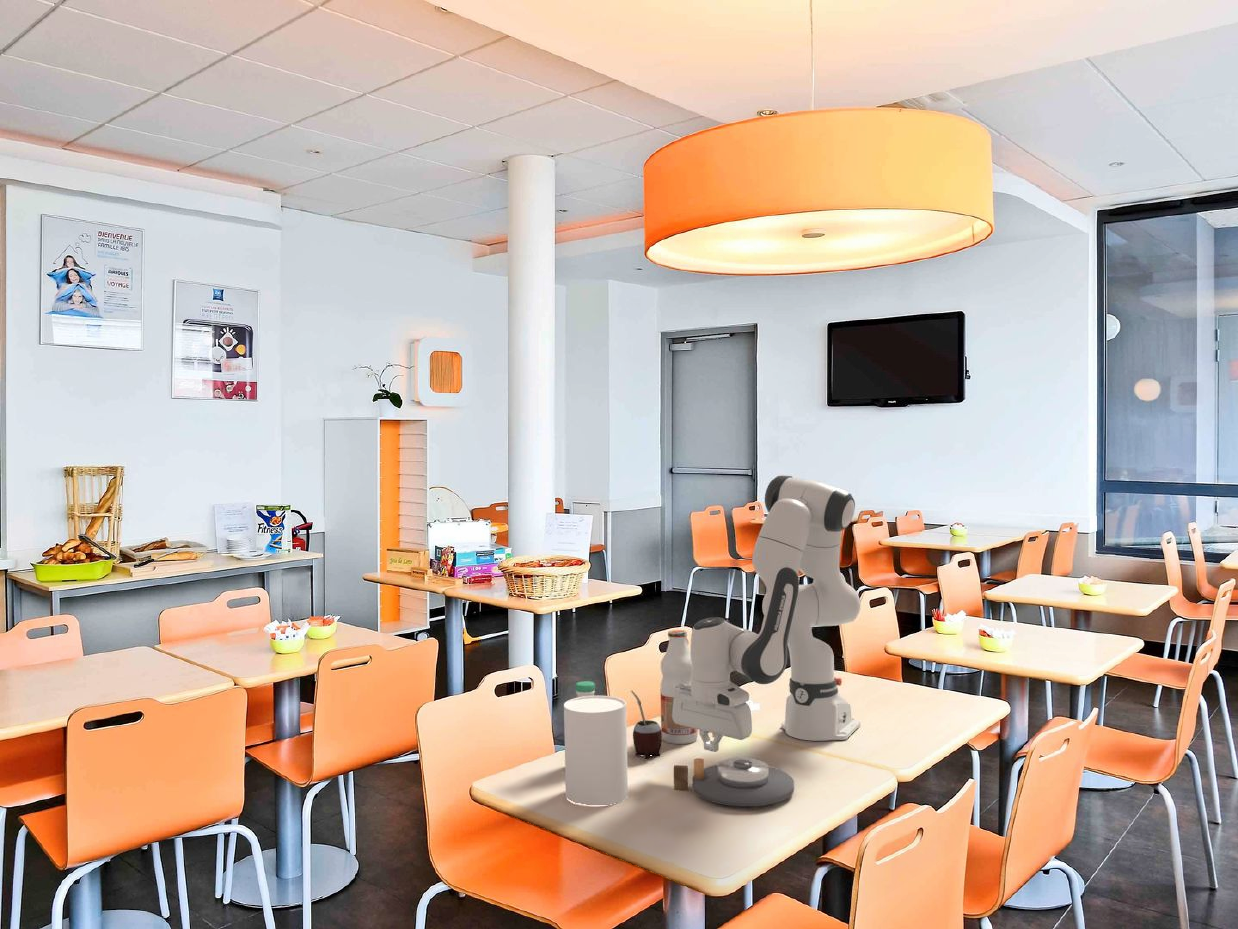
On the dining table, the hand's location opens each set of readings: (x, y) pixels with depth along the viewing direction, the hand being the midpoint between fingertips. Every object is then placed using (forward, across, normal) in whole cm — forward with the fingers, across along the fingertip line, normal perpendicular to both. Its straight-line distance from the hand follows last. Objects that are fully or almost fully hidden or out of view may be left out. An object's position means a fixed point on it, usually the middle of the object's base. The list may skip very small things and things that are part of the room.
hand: (711, 750), depth 211 cm
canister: (+6, -13, -24) cm, 28 cm away
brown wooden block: (+6, -1, -10) cm, 12 cm away
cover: (+4, +10, -3) cm, 11 cm away
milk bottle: (+7, -27, -13) cm, 31 cm away
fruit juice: (+7, -23, +18) cm, 30 cm away
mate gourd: (+7, -22, +2) cm, 23 cm away
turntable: (+6, +10, -3) cm, 12 cm away
